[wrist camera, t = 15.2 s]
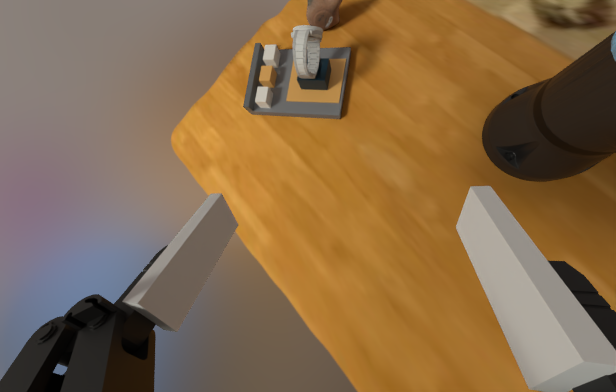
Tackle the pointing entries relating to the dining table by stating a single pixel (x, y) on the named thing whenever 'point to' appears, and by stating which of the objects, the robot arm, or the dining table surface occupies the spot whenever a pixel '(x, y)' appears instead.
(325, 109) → the board
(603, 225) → the dining table surface
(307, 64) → the watch
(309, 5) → the oil lamp
